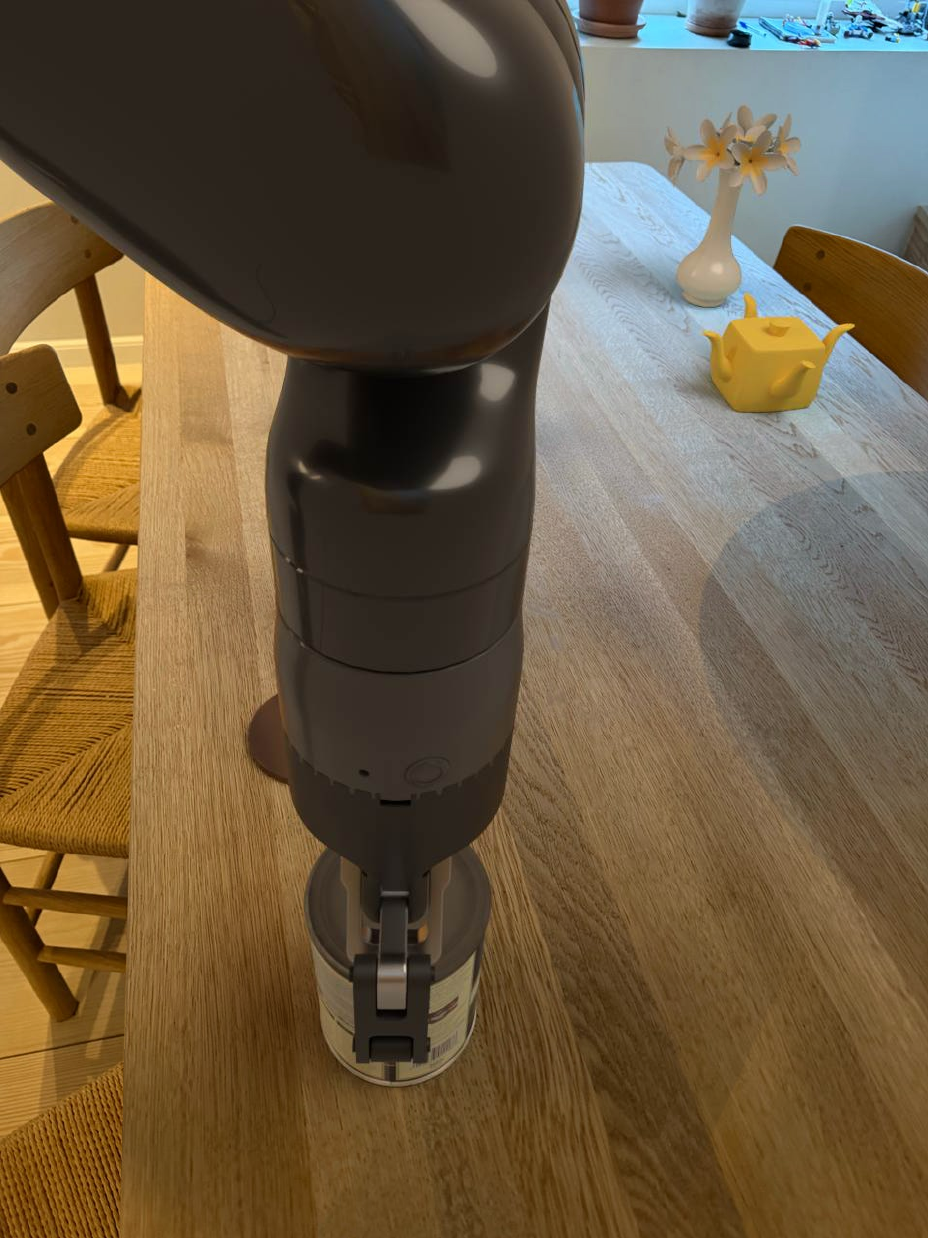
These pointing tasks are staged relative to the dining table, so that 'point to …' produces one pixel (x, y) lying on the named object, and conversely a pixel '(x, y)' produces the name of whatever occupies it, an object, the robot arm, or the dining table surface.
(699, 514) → the dining table surface
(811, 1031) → the dining table surface
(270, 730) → the dark brown wooden coaster
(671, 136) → the flower vase
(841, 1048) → the dining table surface
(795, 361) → the teapot
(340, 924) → the coffee can
